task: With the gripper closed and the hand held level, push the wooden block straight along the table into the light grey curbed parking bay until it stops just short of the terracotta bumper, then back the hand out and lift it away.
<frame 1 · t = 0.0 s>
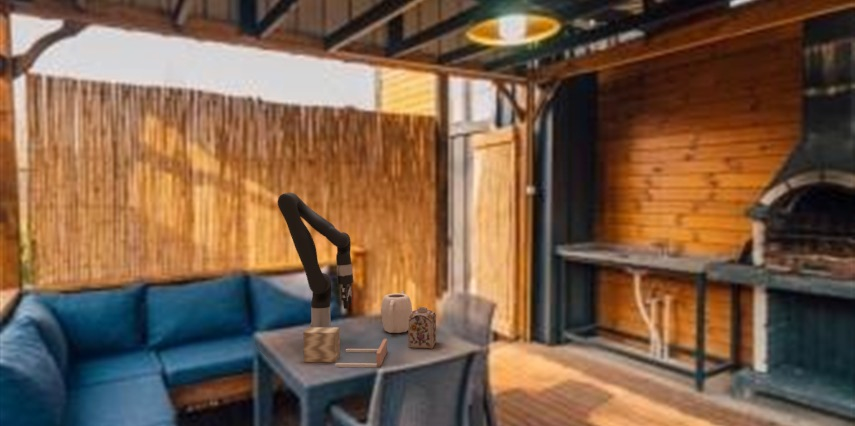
hand: (347, 306, 298), 17 cm above the table, fingers open, 8 cm apart
beige pitcher: (397, 330, 320), on the table
parking bay: (362, 358, 271), on the table
decorative jar: (422, 345, 292), on the table
wooden block: (322, 358, 272), on the table
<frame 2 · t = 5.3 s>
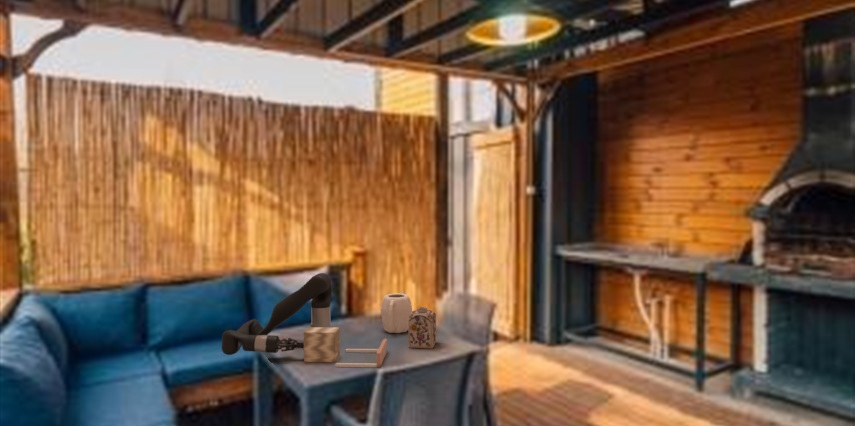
hand: (305, 345, 271), 6 cm above the table, fingers closed
wooden block: (322, 358, 272), on the table, touching gripper
everything else where it was.
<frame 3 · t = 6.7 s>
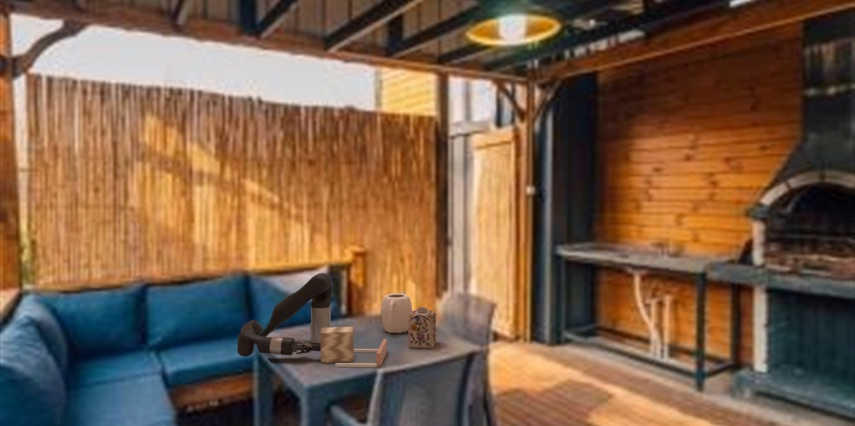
hand: (320, 348, 270), 5 cm above the table, fingers closed
wooden block: (337, 358, 272), on the table, touching gripper
everything else where it was.
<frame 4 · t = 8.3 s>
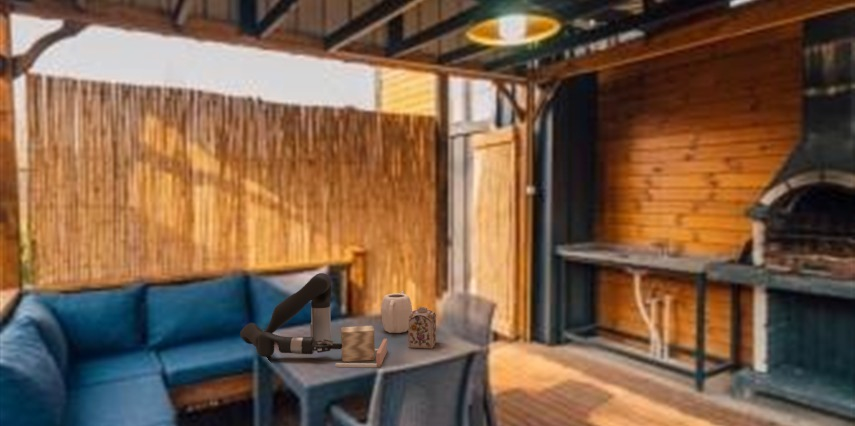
hand: (341, 346, 270), 6 cm above the table, fingers closed
wooden block: (358, 357, 273), on the table
everything else where it was.
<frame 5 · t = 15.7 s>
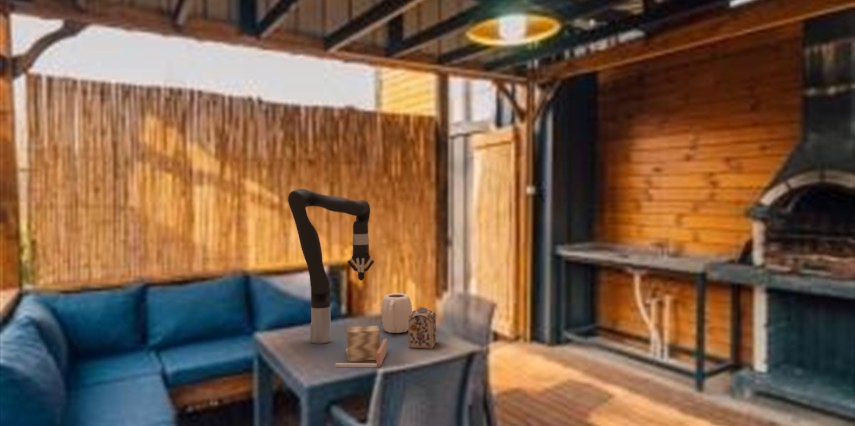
hand: (361, 280, 287), 32 cm above the table, fingers closed
wooden block: (363, 357, 273), on the table
everything else where it was.
at the end: wooden block inside the target area on the parking bay (2.5 cm from its centre), point 0.0 cm above the parking bay's base; wooden block tilted 0° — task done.
